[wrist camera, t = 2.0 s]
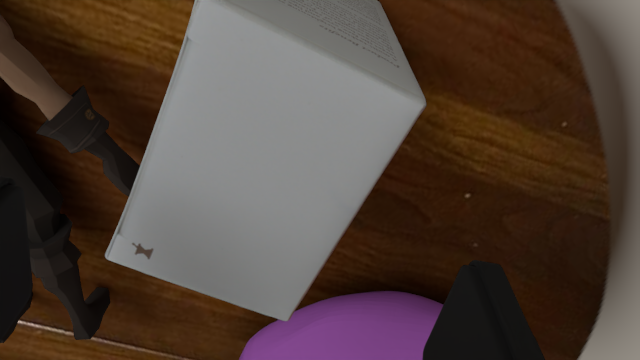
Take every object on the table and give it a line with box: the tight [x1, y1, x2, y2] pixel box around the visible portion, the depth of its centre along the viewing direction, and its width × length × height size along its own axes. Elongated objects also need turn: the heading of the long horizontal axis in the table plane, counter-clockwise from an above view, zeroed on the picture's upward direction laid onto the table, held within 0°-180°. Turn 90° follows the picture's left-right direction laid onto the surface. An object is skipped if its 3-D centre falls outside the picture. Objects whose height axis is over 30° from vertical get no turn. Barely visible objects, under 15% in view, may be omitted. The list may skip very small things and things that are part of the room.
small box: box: [105, 0, 426, 321], centre depth 17 cm, size 8×6×10 cm
